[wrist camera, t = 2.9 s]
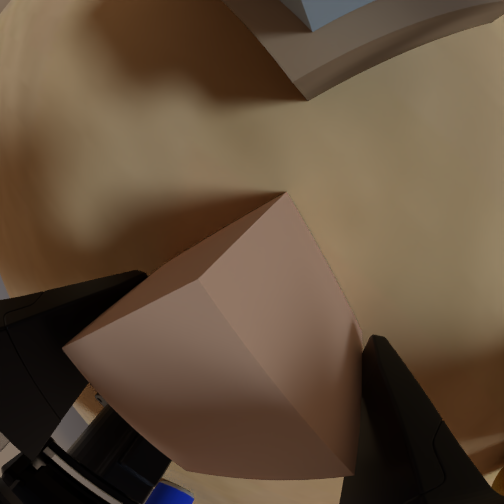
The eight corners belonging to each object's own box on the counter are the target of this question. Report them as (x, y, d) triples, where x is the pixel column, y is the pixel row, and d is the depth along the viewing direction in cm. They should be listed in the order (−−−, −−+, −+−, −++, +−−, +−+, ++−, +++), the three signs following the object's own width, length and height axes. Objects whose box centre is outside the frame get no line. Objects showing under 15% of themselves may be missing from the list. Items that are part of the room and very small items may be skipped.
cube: (240, 366, 10) (186, 470, 6) (165, 263, 10) (61, 347, 5) (362, 331, 8) (354, 475, 4) (286, 191, 7) (198, 279, 3)
